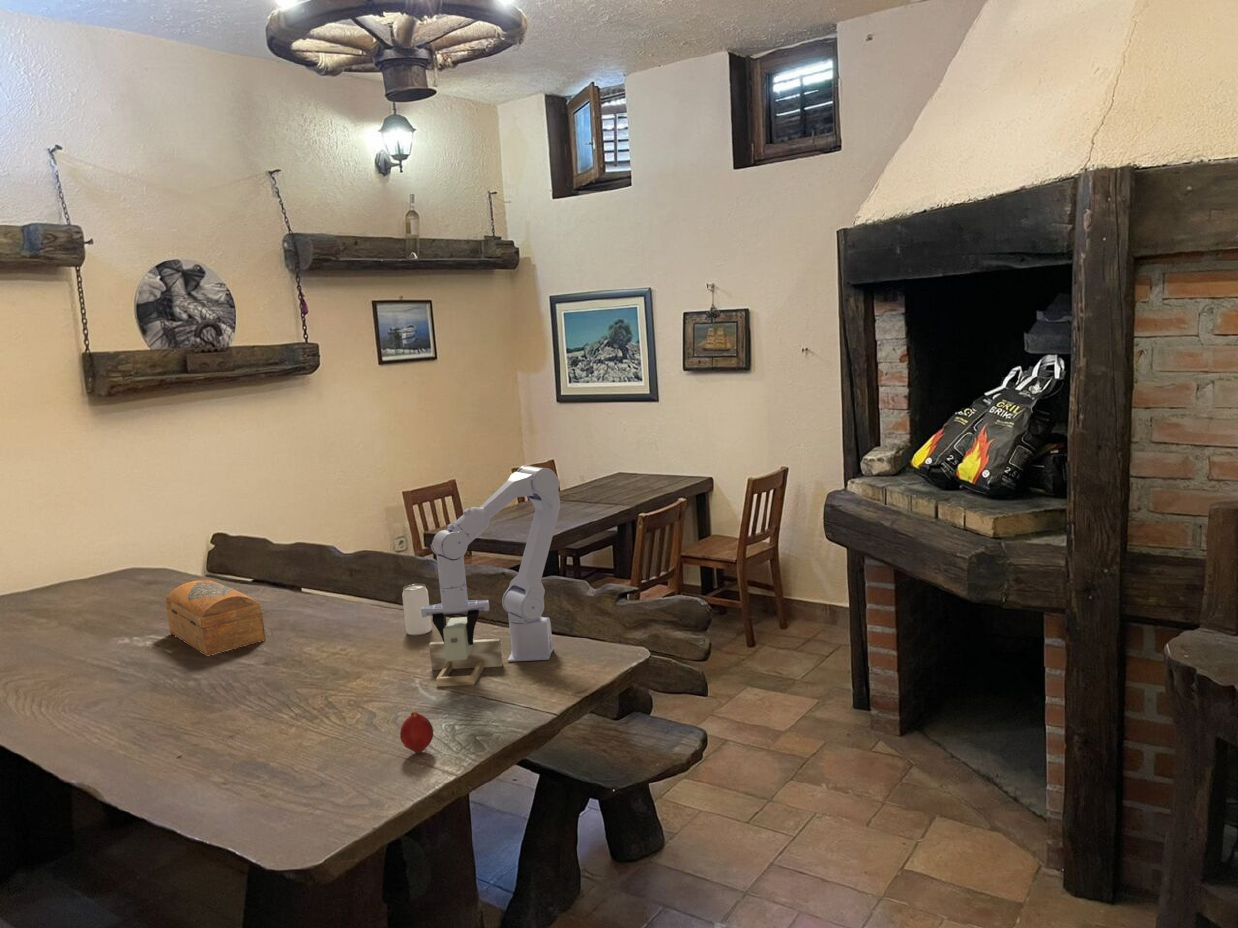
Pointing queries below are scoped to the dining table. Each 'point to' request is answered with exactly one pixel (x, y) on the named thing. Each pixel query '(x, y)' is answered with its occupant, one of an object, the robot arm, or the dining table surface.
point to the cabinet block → (457, 639)
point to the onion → (416, 732)
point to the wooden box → (214, 617)
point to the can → (416, 609)
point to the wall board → (465, 661)
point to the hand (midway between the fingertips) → (459, 644)
